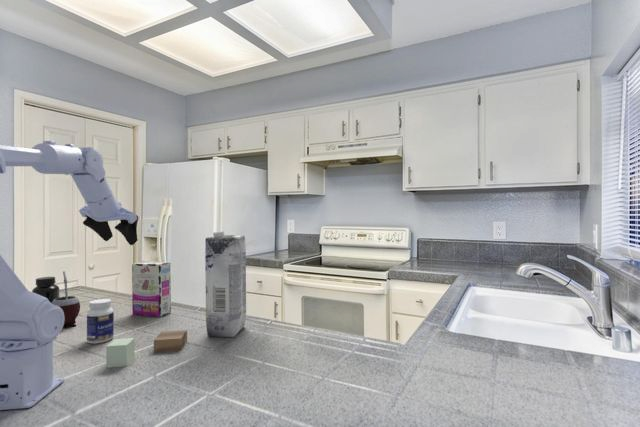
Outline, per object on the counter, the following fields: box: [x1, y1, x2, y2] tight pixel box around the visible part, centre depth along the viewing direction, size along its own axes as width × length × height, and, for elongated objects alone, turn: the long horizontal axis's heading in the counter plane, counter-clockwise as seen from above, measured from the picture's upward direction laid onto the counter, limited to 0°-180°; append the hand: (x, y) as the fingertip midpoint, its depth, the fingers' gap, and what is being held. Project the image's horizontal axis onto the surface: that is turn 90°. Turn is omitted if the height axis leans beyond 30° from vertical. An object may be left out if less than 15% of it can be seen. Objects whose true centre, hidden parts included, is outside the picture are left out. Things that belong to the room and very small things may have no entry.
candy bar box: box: [131, 261, 172, 318], centre depth 109 cm, size 11×5×16 cm, turn 73°
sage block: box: [105, 337, 136, 369], centre depth 73 cm, size 4×4×4 cm
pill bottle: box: [86, 298, 115, 345], centre depth 86 cm, size 6×6×10 cm
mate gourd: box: [52, 271, 81, 328], centre depth 98 cm, size 8×8×15 cm
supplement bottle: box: [31, 276, 61, 303], centre depth 108 cm, size 7×7×12 cm
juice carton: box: [204, 230, 247, 338], centre depth 92 cm, size 9×10×27 cm
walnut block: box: [153, 329, 188, 353], centre depth 82 cm, size 6×6×3 cm
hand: (121, 240), depth 87 cm, fingers open, 7 cm apart
